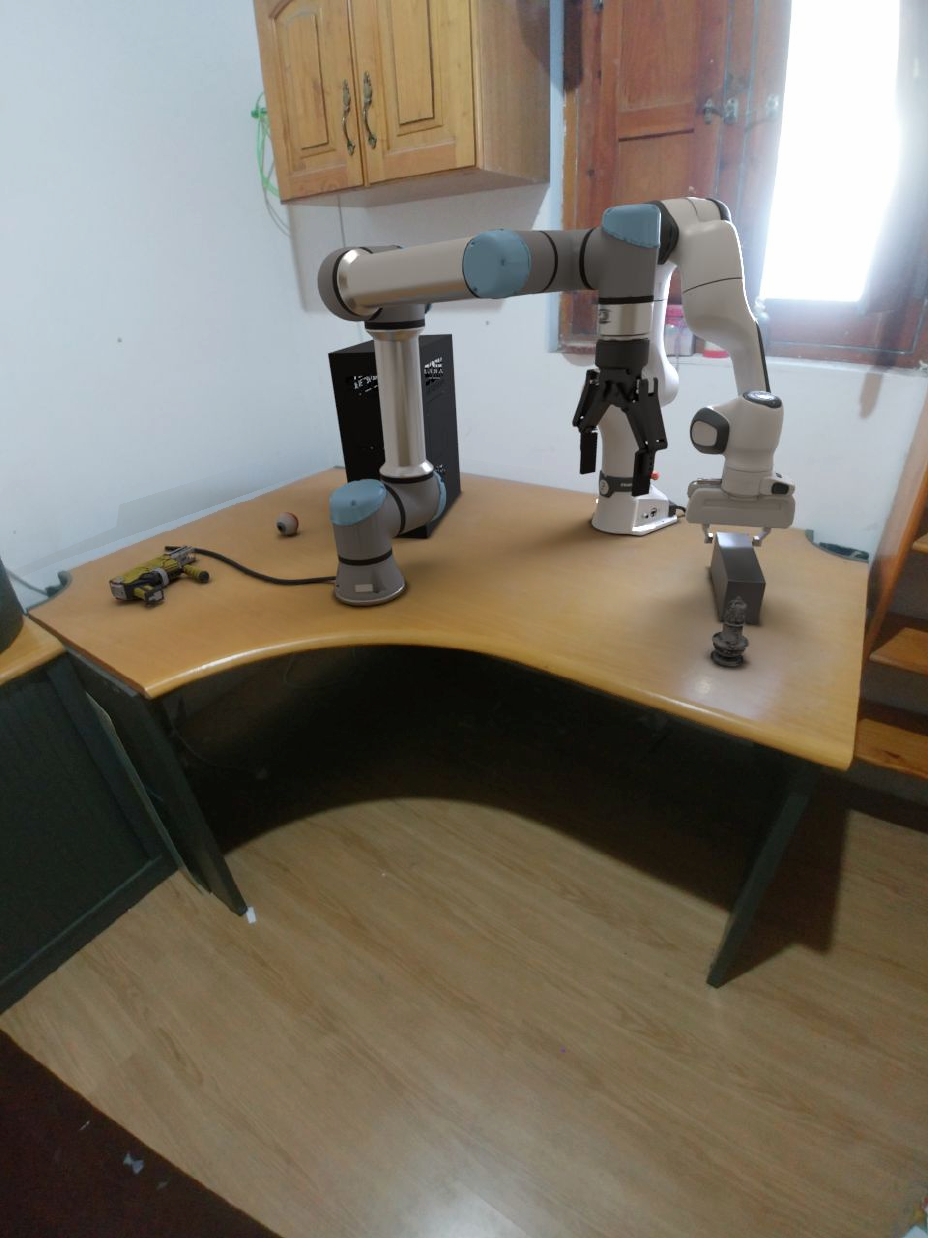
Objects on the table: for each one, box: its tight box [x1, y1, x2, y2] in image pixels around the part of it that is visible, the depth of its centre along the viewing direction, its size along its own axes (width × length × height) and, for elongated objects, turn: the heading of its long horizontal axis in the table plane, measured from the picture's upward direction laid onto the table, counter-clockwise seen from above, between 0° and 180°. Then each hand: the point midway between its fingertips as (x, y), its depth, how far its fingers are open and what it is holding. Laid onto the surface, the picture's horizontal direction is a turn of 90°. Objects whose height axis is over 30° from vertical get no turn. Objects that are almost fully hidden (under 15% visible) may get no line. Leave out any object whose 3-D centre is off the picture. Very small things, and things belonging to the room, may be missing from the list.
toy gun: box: [108, 544, 210, 607], centre depth 141 cm, size 5×24×15 cm
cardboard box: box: [327, 333, 462, 539], centre depth 164 cm, size 38×20×45 cm, turn 167°
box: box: [709, 531, 767, 625], centre depth 121 cm, size 24×6×9 cm, turn 165°
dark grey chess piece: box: [710, 596, 750, 667], centre depth 101 cm, size 6×6×12 cm
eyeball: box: [275, 511, 300, 536], centre depth 163 cm, size 6×6×6 cm
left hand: (612, 483), depth 96 cm, fingers open, 13 cm apart
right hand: (731, 544), depth 126 cm, fingers open, 8 cm apart
